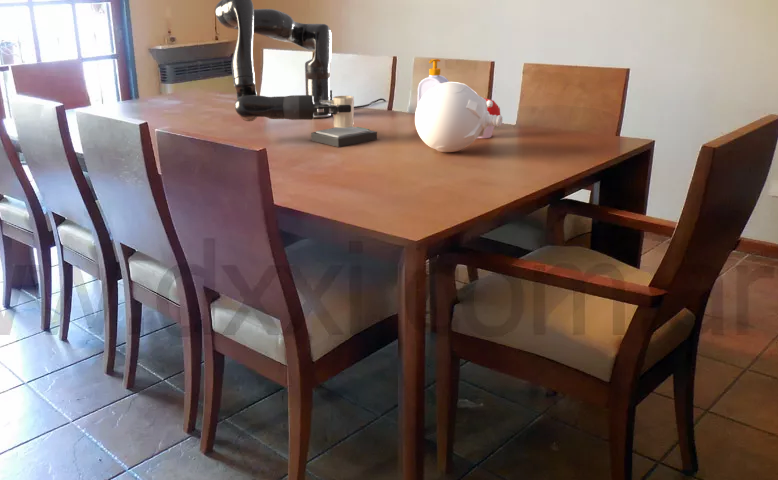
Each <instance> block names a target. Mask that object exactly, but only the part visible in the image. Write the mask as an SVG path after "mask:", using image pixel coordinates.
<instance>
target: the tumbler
mask: <svg viewBox="0 0 778 480" xmlns="http://www.w3.org/2000/svg"><path fill="white" fill-rule="evenodd" d="M332 100H333V104H334V105H336V104H338V105H351V112H339V113H337V114H335V115H334V114H333V128H336V127H338V128H348V127H355V108H354V107H355V97H354V96H353V95H335V96H332Z"/></svg>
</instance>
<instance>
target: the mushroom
mask: <svg viewBox="0 0 778 480" xmlns="http://www.w3.org/2000/svg"><path fill="white" fill-rule="evenodd" d="M483 98H484V99H485V100H486V102H487V111H488V112H489V114H490V115H497V116H498V115H501V107H500V106H499V105H498V104H497V102H495V100H493V99H489V98H486V97H483ZM494 128H495V126H490V125H489V126H488V127H487V128H486V129H485V132H484V135H483V136H480V137H477V138H476V139H489V138H492V136H493V132H494Z"/></svg>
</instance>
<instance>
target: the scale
mask: <svg viewBox="0 0 778 480" xmlns="http://www.w3.org/2000/svg"><path fill="white" fill-rule="evenodd" d="M310 135H311V137H310V139H311V141H312V142H317V143H321V144H324V145H328V146H333V147H337V148H340V147H345V146H351V145H357V144H361V143H366V142H372V141H376V140H378V131H375V130H370V128H365V127H360V126H353V127H348V128H338V127H331V128H325V129H320V130H315V131H314V132H311V133H310Z"/></svg>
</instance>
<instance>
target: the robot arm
mask: <svg viewBox="0 0 778 480" xmlns="http://www.w3.org/2000/svg"><path fill="white" fill-rule="evenodd" d="M214 13H215V17H216V19H217V21H218V22H219V23H220V24H221V25H222V26H224V28H227V29H230V30H237V38H236V43H235V47H234V50H233V54H232V59H231V73H232V74H231V75H232V81H233V87H234V89H235V92H236V93H235V94H236V100H235V103H234V109H235V112H236V113H237V115H238V116H239V118H240V119H241V120H243V121H245V122H248V123H249V122H254V121H255V120H256V119H257V118H267V119H270V120H289V121H290V120H291V121H303V120H309V121H310V120H314V119H326V118H329V117H332V116H333V114H334V115H335V114H337V113H339V112H351V105H338V104H336V105H334V104H333V90H332V89H331V77H330V76H331V74H330V73H331V72H330V71H331V70H330V69H331V68H330V67H331V62H332V46H333V45H332V44H333V37H332V36H333V35H332V30H331V28H330V26H329V25H327V24H325V23H303V22H297V21H296V20H295V21H294V19H293V18H292V16H291V15H289V14H288V13H286V12H283V11H281V10H278V9H273V8H255V7H254V3H253V1H252V0H220V1H218V2H217V4H216V6H215V9H214ZM254 34H256V35H259V36H263V37H266V38H269V39H271V40H276V41H281V42H285V43H291V44H294V45H296V46H297V47H300V48H302V49H304V50H306V51H314V53H313V57H312V58H311V59H309V60H307V61H305V62H304V80H305V83H304V84H305V94H303V95H302V94H298V95H297V94H295V95H284V96H265V95H258V93H257V88H256V75H255V66H254V65H255V64H254ZM380 101H383V102H384V103H385V102H386V103H387V100H386V99H385V98H383V97H382V98H381V97H380V98H378V99H375V100H373V101H371V102H369V103H367V104H363V105H354V109H360V108H366V107H369V106H371V105H372V104H374V103H375V104H376V103H377V102H380Z"/></svg>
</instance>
